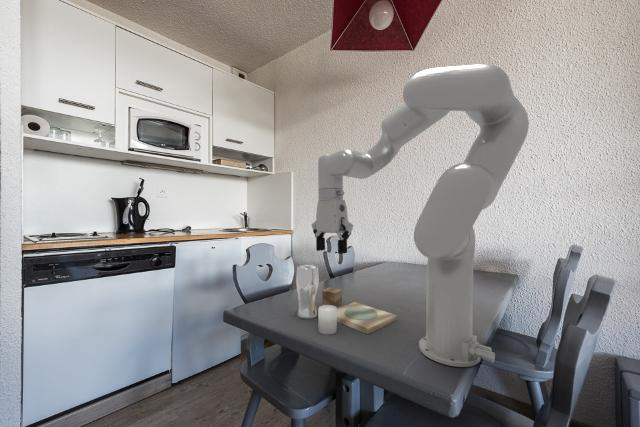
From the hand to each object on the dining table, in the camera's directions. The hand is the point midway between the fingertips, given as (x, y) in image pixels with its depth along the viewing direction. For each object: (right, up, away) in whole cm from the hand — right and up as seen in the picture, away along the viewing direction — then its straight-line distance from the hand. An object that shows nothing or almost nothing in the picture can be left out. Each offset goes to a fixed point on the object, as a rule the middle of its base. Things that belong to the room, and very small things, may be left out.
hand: (331, 251), depth 83 cm
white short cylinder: (-1, -20, -10) cm, 22 cm away
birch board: (+9, -20, -1) cm, 22 cm away
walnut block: (+1, -20, +12) cm, 23 cm away
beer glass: (-7, -20, +1) cm, 21 cm away
